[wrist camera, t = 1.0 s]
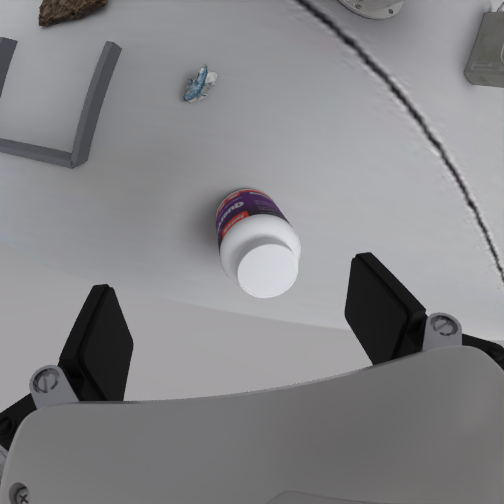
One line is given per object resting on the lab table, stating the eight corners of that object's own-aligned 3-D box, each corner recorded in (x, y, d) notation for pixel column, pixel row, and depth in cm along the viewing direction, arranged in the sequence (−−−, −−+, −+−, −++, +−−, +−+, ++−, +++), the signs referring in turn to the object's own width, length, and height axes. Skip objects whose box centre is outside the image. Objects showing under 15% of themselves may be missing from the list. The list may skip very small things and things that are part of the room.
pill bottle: (229, 177, 36) (244, 215, 23) (286, 200, 38) (327, 246, 26) (206, 234, 39) (208, 296, 26) (260, 252, 41) (287, 317, 29)
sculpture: (263, 79, 32) (274, 73, 26) (194, 147, 34) (192, 152, 29) (207, 30, 28) (208, 15, 22) (138, 99, 30) (126, 96, 25)
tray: (14, 41, 21) (-1, 37, 17) (121, 48, 26) (112, 41, 23) (-12, 141, 27) (-28, 146, 23) (86, 163, 32) (74, 169, 28)
